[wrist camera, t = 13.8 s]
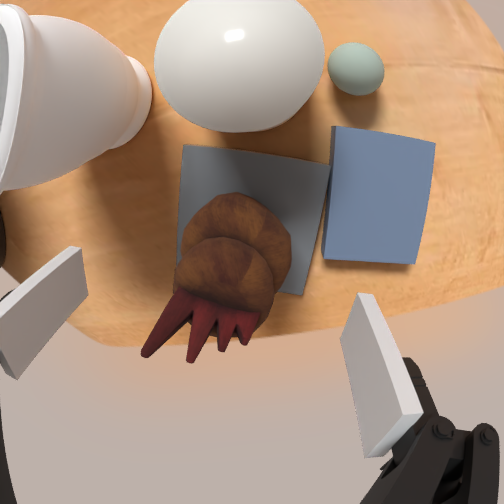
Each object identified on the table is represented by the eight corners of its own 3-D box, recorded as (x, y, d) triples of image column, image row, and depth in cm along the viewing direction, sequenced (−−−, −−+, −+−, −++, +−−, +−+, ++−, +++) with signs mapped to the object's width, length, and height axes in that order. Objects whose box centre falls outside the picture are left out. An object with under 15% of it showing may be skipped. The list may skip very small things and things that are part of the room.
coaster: (179, 268, 26) (176, 274, 25) (187, 144, 22) (183, 144, 21) (301, 289, 26) (302, 295, 25) (329, 164, 21) (330, 165, 20)
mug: (195, 125, 21) (145, 126, 13) (214, 4, 17) (179, -49, 8) (299, 139, 21) (311, 145, 12) (317, 14, 16) (335, -42, 8)
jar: (167, 155, 22) (28, 206, 8) (70, 166, 23) (-59, 217, 9) (166, 33, 18) (42, -37, 4) (68, 61, 19) (-61, 53, 5)
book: (320, 246, 24) (323, 258, 22) (330, 126, 20) (335, 125, 18) (406, 252, 24) (415, 264, 22) (423, 141, 20) (436, 143, 18)
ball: (320, 91, 19) (329, 83, 15) (327, 45, 17) (335, 29, 14) (371, 103, 19) (389, 99, 15) (377, 58, 17) (394, 46, 13)
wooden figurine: (189, 226, 23) (88, 357, 9) (232, 169, 21) (146, 252, 7) (256, 276, 24) (229, 439, 11) (303, 225, 22) (332, 377, 9)
